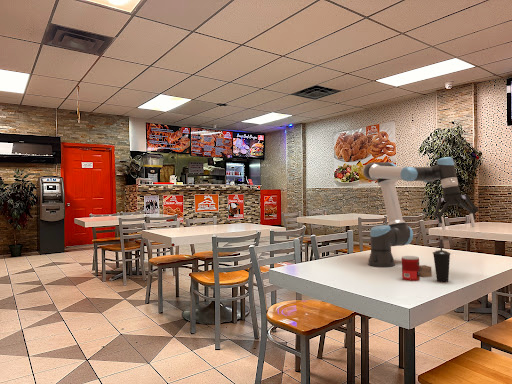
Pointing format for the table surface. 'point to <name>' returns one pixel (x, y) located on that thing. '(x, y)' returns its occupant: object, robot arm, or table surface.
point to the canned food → (410, 268)
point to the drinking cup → (442, 264)
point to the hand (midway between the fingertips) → (458, 228)
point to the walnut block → (425, 271)
